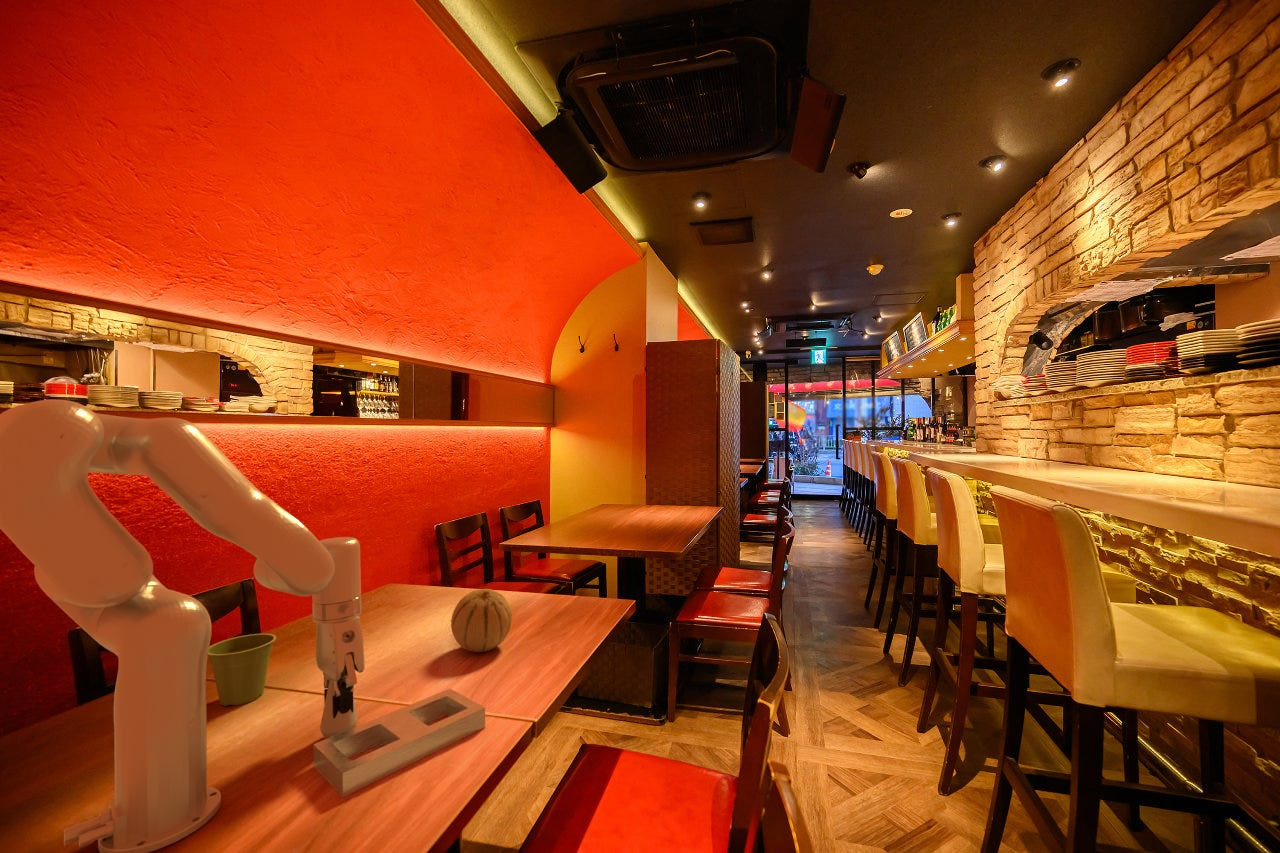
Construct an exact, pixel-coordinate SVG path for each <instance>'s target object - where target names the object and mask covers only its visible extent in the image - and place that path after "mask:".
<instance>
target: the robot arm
mask: <svg viewBox="0 0 1280 853" xmlns="http://www.w3.org/2000/svg"><path fill="white" fill-rule="evenodd" d="M89 473H94V474H108V475H109V474H110V475H124V476H125V475H126V476H127V475H128V476H129V475H132V476H146V477H147V478H149V479H150V480H151V481H152V482H153V483H154V484H155V485H156V486H157V487H158V488H159V489H160V490H162V491H163V492H164V493H165V494H166V495H167V496H168V497H169V498H171V499H172V500H173V501H174V502H175V503H176V504H177V505H178V506H179V507H180V508H181V509H182V510H183V511H184V512H185V514H187V515H188V516H189V517H191V519H193V521H194V522H196V524H198V525H199V526H200V527H201V528H203V529H205V530H206V531H208V532H209V533H211V534H212V535H214V536H217V537H218V538H221V539H223V540H225V541H228V542H230V543H233V544H234V545H236V546H238V547H240V548H242V549H243V550H245V551H246V552H248V553H250V554H251V555H252V556H254V557H255V558H256V559H255V562H254V565H253V575H254V578H255V580H256V581H257V582H258V583H259V584H260V585H261V586H263V587H264V588H267V589H270V590H274V591H277V592H281V593H286V594H291V595H294V596H298V597H310V596H312V597H311V598H312V622H313V623H315V624H316V629H315V630H316V632H315V633H316V634H315V635H316V636H315V660H316V666H317V668H318V669H319V670H320V671H321V672H323V673H322V674H323V688H324V690H323V692H324V693H323V694H324V695H323V696H324V697H323V698H324V699H323V700H324V702H323V703H324V704H323V705H325V700H326V695H327V690H328V685H329V680H327V679H326V677H325V673H326V674H327V675H328V676H330V677H331V678H333V679H334V691H335V695H334V696H332V703H333V718H334V719H335V717H336V715H337V713H338V711H339V712H340V713H341V714H344V713H347V712H348V711H349V710H350V709H351V711H352V713H353V697H354V689H355V685H356V684H358V679H357V675H356V672H357V673H360V674H361V673H363V672H364V671H365V668H366V667H365V666H366V664H365V651H364V637H363V629H362V628H363V627H362V621H361V618H360V615H362V582H361V581H362V579H361V577H362V576H361V574H362V573H361V571H362V570H361V545H360V540H358V539H357V538H355V537H351V536H340V537H338V536H337V537H331V538H324V539H322V540H318V538H317V537H316V535H314V534H313V532H311V531H310V530H309V528H308V527H306V525H304V524H303V523H302V522H301V521H300V520H299V519H298V518H296V517H295V516H293V514H291V513H289V512H288V511H287V510H285V509H284V508H283V507H281V506H280V505H279V504H278V503H276V502H275V501H274V500H273V499H271V498H270V497H269V496H268V495H266V494H265V493H263V492H261V491H260V490H259V488H257V487H256V486H255V485H254V484H253V483H252V482H251V481H250V480H249V479H248V478H247V477H246V476H245V475H244V473H243V472H242V471H241V470H240V469H238V467H237V466H236V465H235V464H234V463H233V462H232V461H231V460H230V458H228V457H227V455H226V454H225V453H224V452H223V451H222V450H221V449H220V448H219V447H218V446H217V445H216V444H215V443H214V442H213V441H212V440H211V439H210V437H208V436H207V434H206V433H205V432H203V431H202V429H201V428H199V427H198V426H197V425H195V423H193V422H191V421H189V420H186V419H183V418H178V417H155V418H139V417H138V418H137V417H129V416H128V417H127V416H117V415H112V414H105V413H99V412H94V411H93V410H92V409H90V408H89V407H87V406H85V405H83V404H81V403H80V402H76V401H71V400H67V399H43V400H37V401H32V402H28V403H23V404H19V405H16V406H14V407H11V408H8V409H6V410H5V411H3V412H1V413H0V530H1V531H2V532H3V533H4V535H5V536H6V537H7V538H8V539H9V540H10V541H11V542H12V543H13V544H14V545H15V547H16V548H18V550H19V551H20V553H22V554H23V555H24V556H25V557H26V558H27V559H28V560H29V561H30V563H32V564H33V565H34V568H33V569H34V570H33V571H34V573H33V574H34V577H35V578H34V579H35V581H36V584H37V585H38V587H39V589H41V590H42V592H43V593H44V594H45V595H46V596H47V597H48V598H50V600H51V601H52V602H54V604H55V605H57V606H58V607H59V608H60V609H61V610H62V611H63V612H64V613H65V614H66V615H67V616H68V617H69V618H70V619H72V621H74V623H76V624H77V625H78V626H79V627H80V628H81V629H82V630H83V631H85V632H86V634H88V635H89V636H90V637H91V638H92V639H93V640H94V641H96V642H97V643H98V645H100V646H102V647H103V648H104V649H106V650H108V651H109V652H111V653H113V654H114V655H116V656H117V658H118V670H117V676H116V682H115V686H114V687H115V689H114V696H113V725H114V728H113V730H114V731H113V732H114V733H113V738H114V740H113V741H114V744H113V746H114V749H113V750H114V753H113V754H114V756H113V757H114V799H112V800H110V801H108V802H109V803H108V804H109V806H108V808H107V809H106V810H103V811H101V812H99V813H98V816H96V817H94V818H91V819H89V820H86V821H81V822H79V823H76V824H73V825H70V826H68V827H66V828H64V829H63V846H64V847H66V846H68V845H70V844H73V843H75V842H77V841H78V847H79V848H82V847H84V846H87V845H89V844H92V843H94V842H95V841H97V840H98V841H97V849H98V852H99V853H151V852H154V851H156V850H160V849H163V848H165V847H167V846H169V845H171V844H174V843H176V842H178V841H180V840H182V839H184V838H186V837H188V836H190V835H191V834H192V833H195V832H196V831H197V830H198V829H200V828H201V827H202V826H204V825H205V824H207V823H208V822H209V821H210V820H211V819H212V818H213V817H214V816H215V814H216V813H217V812H218V810H219V809H220V806H221V803H222V794H221V792H220V791H219V789H217V788H215V787H213V786H208V754H207V751H208V750H207V749H208V748H207V747H208V745H207V743H208V742H207V739H208V738H207V736H208V735H207V734H208V733H207V732H208V731H207V664H208V658H209V656H208V651H209V647H210V646H211V645H210V644H211V638H212V620H211V616H210V614H209V612H208V610H207V608H206V607H205V606H204V604H202V602H200V601H199V600H198V599H196V598H195V597H193V596H191V595H189V594H185V593H182V592H179V591H176V590H173V589H168V588H167V587H166V586H165V585H163V584H162V583H161V582H160V581H159V580H158V579H157V577H155V575H154V574H153V573H154V572H153V571H154V563H153V560H152V557H151V554H150V553H149V552H148V550H147V549H146V548H145V546H144V545H143V544H142V543H141V542H140V541H138V540H137V539H136V538H135V537H134V536H133V535H132V534H131V533H130V532H129V531H128V529H127V528H125V526H124V525H123V524H122V523H121V522H120V521H119V520H118V519H117V517H115V516H114V515H113V514H112V513H111V511H109V509H108V508H107V507H106V506H105V504H104V503H103V502H102V500H101V499H100V498H99V497H98V495H97V494H96V493H95V490H93V488H92V486H91V485H90V481H89ZM343 672H345V675H342V676H341V675H340V673H343ZM344 679H346V680H345V681H344V682H342V683H341V685H340V681H341V680H344Z"/></svg>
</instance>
